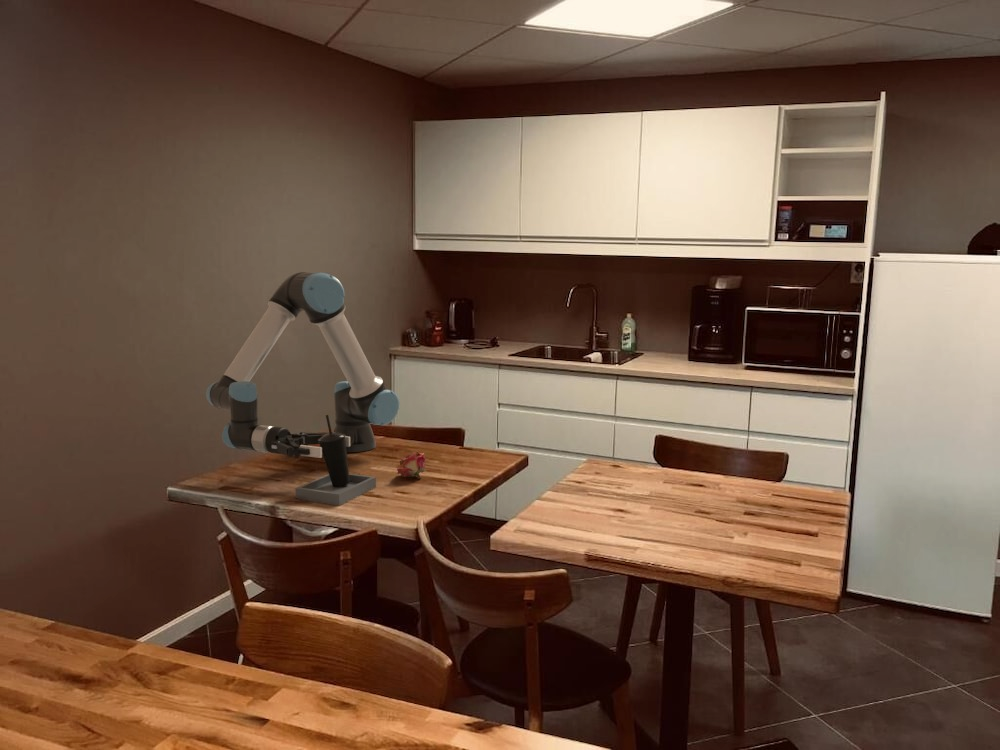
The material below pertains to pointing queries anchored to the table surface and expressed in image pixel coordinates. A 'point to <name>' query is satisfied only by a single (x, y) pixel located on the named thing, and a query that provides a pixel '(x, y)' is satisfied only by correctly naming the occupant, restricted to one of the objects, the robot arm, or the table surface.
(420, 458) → the flower
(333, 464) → the drinking cup
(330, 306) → the robot arm
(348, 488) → the tray
